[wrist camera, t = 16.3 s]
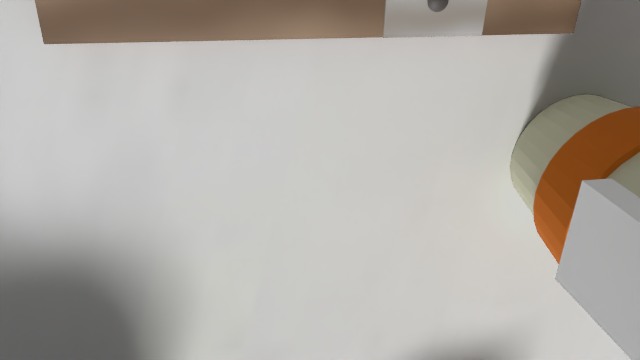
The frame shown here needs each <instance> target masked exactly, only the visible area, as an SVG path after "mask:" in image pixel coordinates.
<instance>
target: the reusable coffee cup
mask: <svg viewBox="0 0 640 360" xmlns="http://www.w3.org/2000/svg"><path fill="white" fill-rule="evenodd" d="M510 171H511V179H512V182H513V185H514V187H515V189H516V191H517V192H518V194H519V195H520V197H521V198H522V200H523V201H524V202H525V204H526V205H527V207H528V208H529V210H530V211H531V213H532V214H533V216H534V222H535V225H536V229H537V232H538V234H539V235H540V237H541V238H542V240H543V241H544V243H545V244H546V246H547V247H548V249H549V250H550V252H551V253H552V255H553V256H554V258H555V259H556V261H557V262H558V264H559V262H560V259H561V255H562V252H563V248H564V244H565V241H566V237H567V233H568V230H569V226H570V223H571V219H572V215H573V212H574V208H575V204H576V201H577V197H578V194H579V190H580V186H581V183H582V180H597V179H611V178H612V179H613V180H614V181H616V182H617V183H619V184H620V185H622V186H623V187H625V188H626V189H628V190H629V191H631V192H632V193H634V194H635V195H637V196H638V197H639V198H640V107H631V106H628V105H625V104H622V103H619V102H616V101H613V100H609V99H606V98H603V97H600V96H597V95H588V94H584V95H576V96H572V97H568V98H565V99H562V100H560V101H558V102H556V103H554V104H552V105H550V106H549V107H547V108H546V109H544V110H543V111H542V112H540V113H539V114H538V115H537V116H536V117H535V118H534V119H533V120H532V121H531V122H530V123H529V124H528V125H527V127H526V128H525V129H524V131H523V132H522V133H521V135H520V137H519V139H518V141H517V143H516V144H515V147H514V150H513V153H512V157H511V165H510Z"/></svg>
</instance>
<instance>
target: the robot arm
mask: <svg viewBox="0 0 640 360" xmlns="http://www.w3.org/2000/svg"><path fill="white" fill-rule="evenodd" d="M555 279H556V280H557V281H558V282H559V283H560V285H561V286H562V287H563V288H564V289H565V290H566V291H567V292H568V293H569V294H570V295H571V296H572V297H573V298H574V299H575V300H576V301H577V303H578V304H579V305H580V306H581V307H582V308H583V309H584V310H585V311H586V312H587V313H588V314H589V315H590V316H591V317H592V318H593V319H594V320H595V322H596V323H597V324H598V325H599V326H600V327H601V328H602V329H603V330H604V331H605V332H606V333H607V334H608V335H609V336H610V337H611V338H612V340H613V341H614V342H615V343H616V344H617V345H618V346H619V347H620V348H621V349H622V350H623V351H624V352H625V353H626V354H627V355H628V356H629V358H630V359H631V360H640V198H639V197H638V196H637V195H635V194H634V193H632V192H631V191H629V190H628V189H626V188H625V187H623V186H622V185H620V184H619V183H617V182H616V181H614V180H613V179H612V178H611V179H597V180H582V183H581V186H580V190H579V194H578V197H577V201H576V204H575V208H574V212H573V215H572V219H571V223H570V226H569V230H568V233H567V237H566V241H565V244H564V248H563V252H562V255H561V259H560V262H559V266H558V270H557V273H556V277H555Z"/></svg>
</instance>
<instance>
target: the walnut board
mask: <svg viewBox="0 0 640 360" xmlns="http://www.w3.org/2000/svg"><path fill="white" fill-rule="evenodd" d="M35 3H36V8H37V13H38V18H39V22H40V27H41V32H42V37H43V42H44V44H72V43H121V42H170V41H218V40H267V39H316V38H365V37H383V38H387V37H435V36H482V35H511V34H560V33H574V29H575V25H576V21H577V16H578V12H579V8H580V4H581V0H35Z"/></svg>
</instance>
